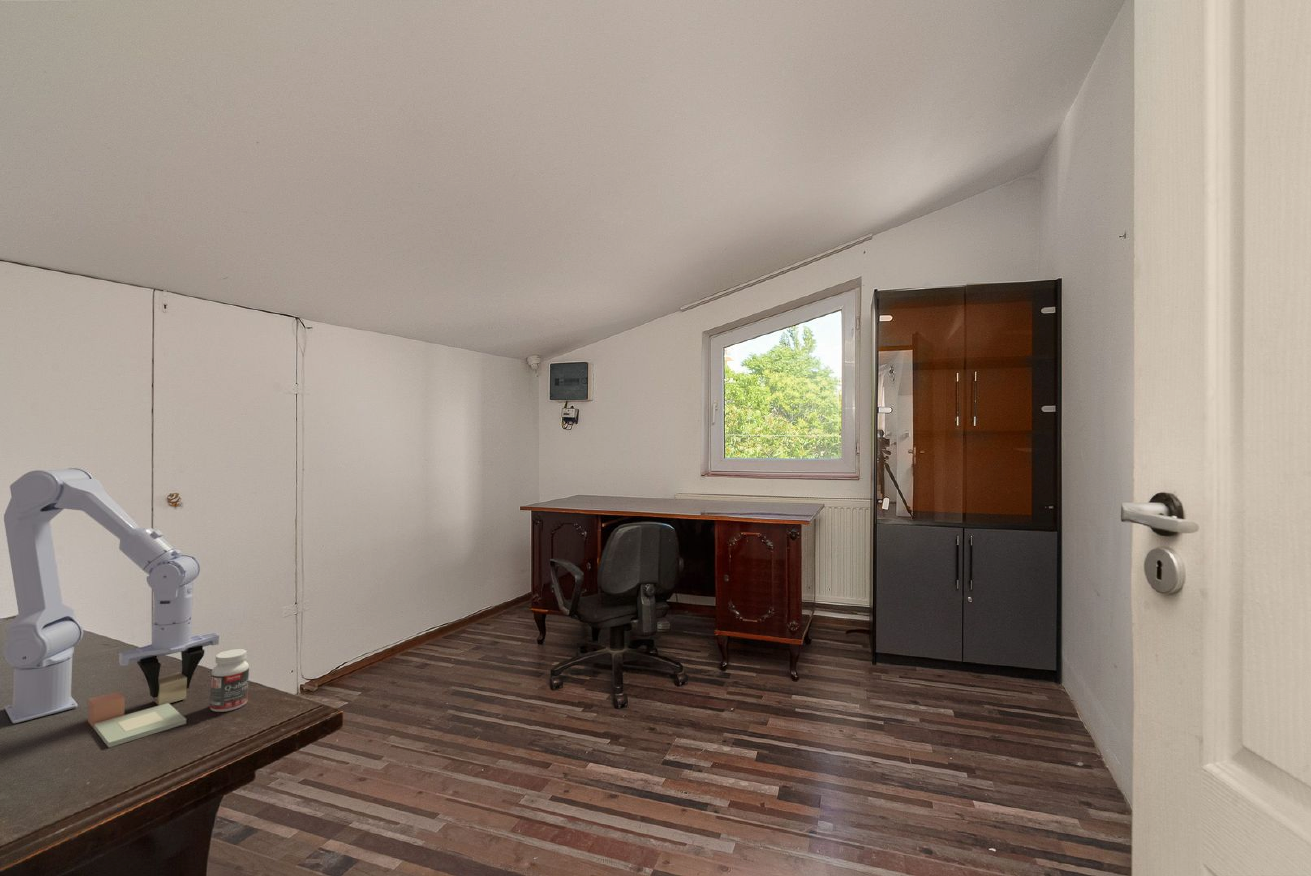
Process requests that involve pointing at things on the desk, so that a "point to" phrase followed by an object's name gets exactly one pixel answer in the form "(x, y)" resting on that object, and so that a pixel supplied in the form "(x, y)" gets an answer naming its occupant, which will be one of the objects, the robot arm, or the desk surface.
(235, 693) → the pill bottle
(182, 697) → the beech cube
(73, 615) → the robot arm
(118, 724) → the board
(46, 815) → the desk surface
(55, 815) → the desk surface
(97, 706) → the terracotta cube
